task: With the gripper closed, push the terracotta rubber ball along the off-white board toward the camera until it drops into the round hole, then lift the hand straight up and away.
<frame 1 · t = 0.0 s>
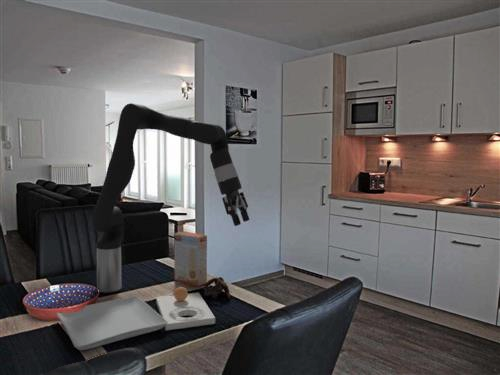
hand: (242, 223, 139), 31 cm above the table, tool tilted 20°, fingers open, 8 cm apart
cracker box: (190, 282, 171), on the table
ball: (180, 293, 144), point 4 cm above the table, touching white flat slab
brown openwork arch: (217, 296, 156), on the table
square plate: (111, 328, 127), on the table
white flat slab: (183, 312, 139), on the table
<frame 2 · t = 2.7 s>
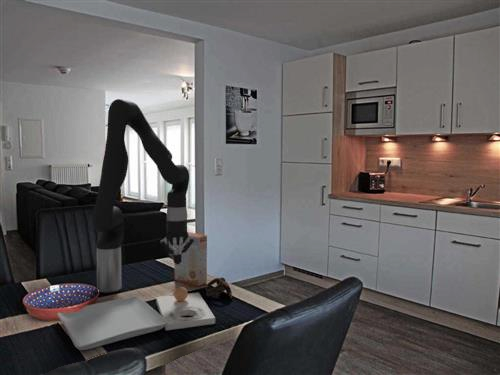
hand: (177, 263, 151), 13 cm above the table, tool pointing down, fingers closed
square plate: (111, 328, 127), on the table, touching white flat slab
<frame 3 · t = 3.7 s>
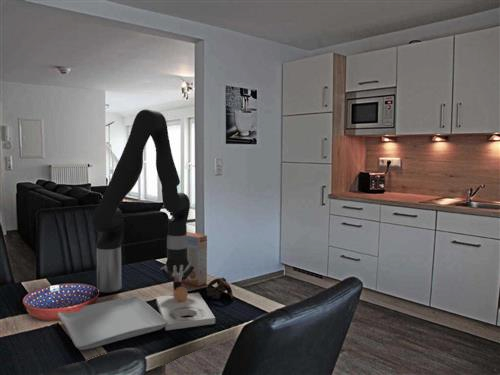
hand: (177, 290, 152), 3 cm above the table, tool pointing down, fingers closed
square plate: (112, 328, 127), on the table
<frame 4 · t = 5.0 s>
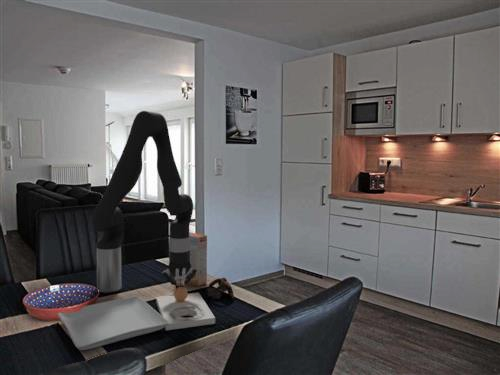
hand: (179, 294, 148), 3 cm above the table, tool pointing down, fingers closed
ball: (180, 293, 144), point 4 cm above the table, touching white flat slab, gripper
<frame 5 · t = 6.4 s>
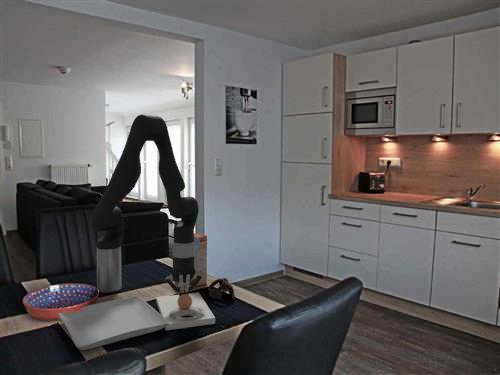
hand: (183, 302, 141), 3 cm above the table, tool pointing down, fingers closed
ball: (184, 301, 137), point 4 cm above the table, tilted 138°, touching white flat slab, gripper
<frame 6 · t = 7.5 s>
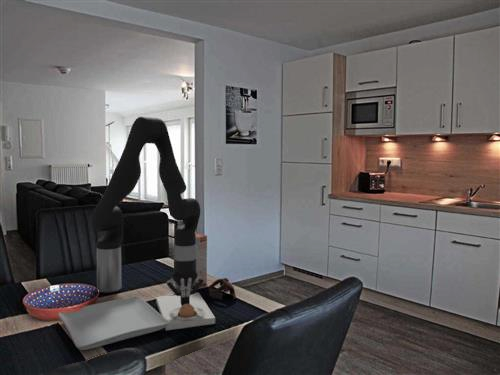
hand: (184, 306, 137), 3 cm above the table, tool pointing down, fingers closed
ball: (186, 311, 134), point 2 cm above the table, tilted 125°
square plate: (112, 328, 127), on the table, touching white flat slab
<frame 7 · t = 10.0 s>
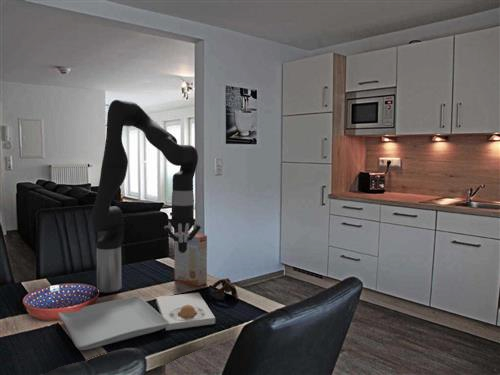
hand: (182, 252, 139), 21 cm above the table, tool pointing down, fingers closed
ball: (187, 312, 133), point 2 cm above the table, tilted 101°
square plate: (112, 328, 127), on the table
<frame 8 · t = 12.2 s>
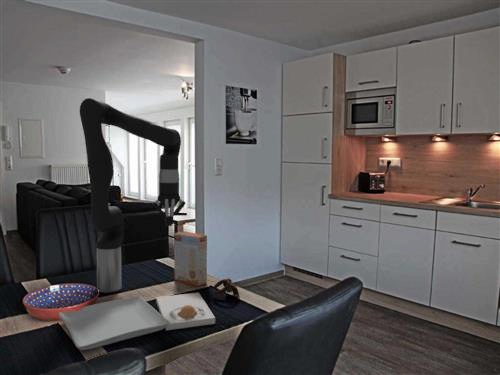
hand: (169, 225, 155), 27 cm above the table, tool pointing down, fingers closed
ball: (187, 312, 133), point 2 cm above the table, tilted 95°
square plate: (113, 328, 127), on the table, touching white flat slab
at the end: ball 0.6 cm from the target spot on the white flat slab, point 2.5 cm above the white flat slab's base; ball touching table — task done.
